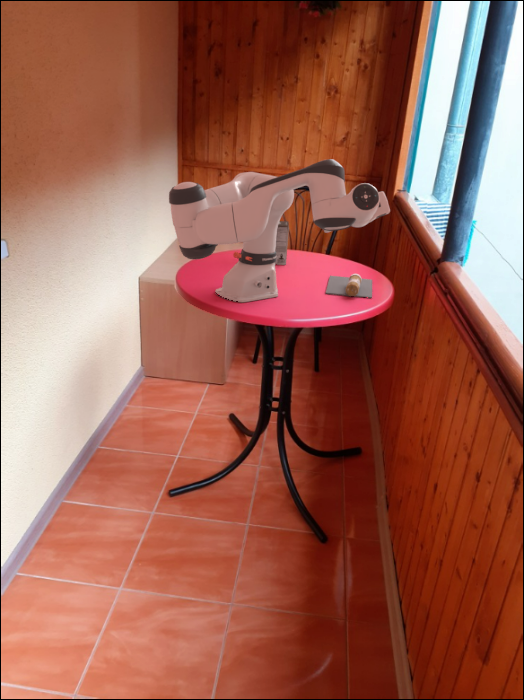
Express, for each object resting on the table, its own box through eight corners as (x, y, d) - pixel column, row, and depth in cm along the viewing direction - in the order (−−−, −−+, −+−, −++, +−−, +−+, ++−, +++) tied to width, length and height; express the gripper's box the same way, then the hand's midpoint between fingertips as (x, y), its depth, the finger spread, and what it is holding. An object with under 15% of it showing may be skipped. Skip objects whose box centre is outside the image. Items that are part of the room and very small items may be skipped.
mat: (371, 298, 195) (372, 297, 195) (325, 293, 198) (325, 292, 197) (372, 280, 215) (372, 279, 215) (329, 276, 217) (330, 275, 217)
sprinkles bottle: (343, 287, 194) (346, 276, 206) (349, 298, 195) (352, 287, 207) (355, 281, 193) (358, 271, 205) (361, 293, 194) (363, 282, 206)
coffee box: (270, 258, 238) (272, 220, 232) (286, 259, 239) (288, 221, 232) (270, 264, 230) (272, 224, 224) (286, 265, 230) (289, 225, 224)
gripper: (326, 232, 162) (323, 241, 176) (395, 210, 161) (387, 220, 175) (320, 211, 162) (317, 221, 176) (388, 189, 161) (381, 201, 175)
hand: (352, 221), depth 176 cm, fingers closed
